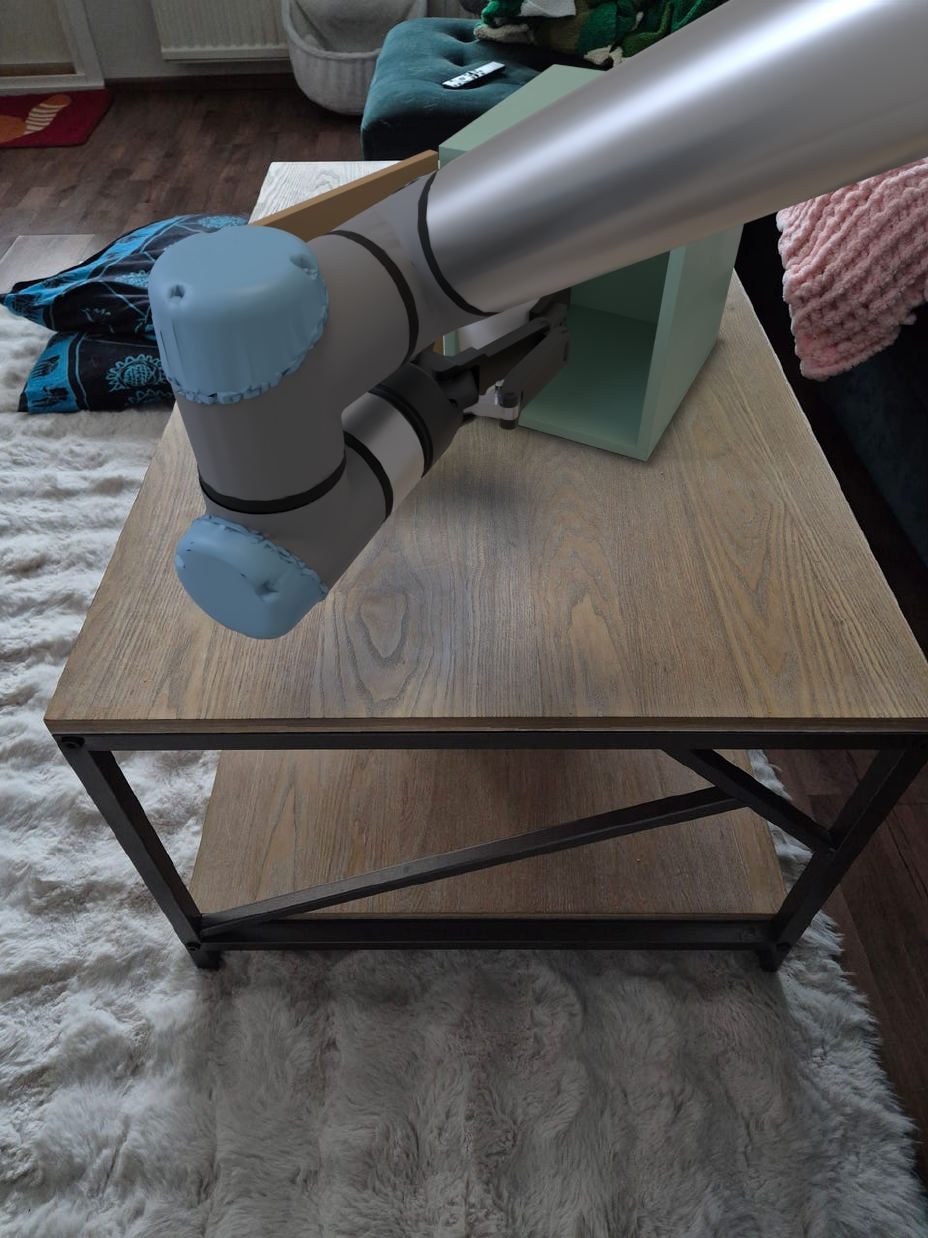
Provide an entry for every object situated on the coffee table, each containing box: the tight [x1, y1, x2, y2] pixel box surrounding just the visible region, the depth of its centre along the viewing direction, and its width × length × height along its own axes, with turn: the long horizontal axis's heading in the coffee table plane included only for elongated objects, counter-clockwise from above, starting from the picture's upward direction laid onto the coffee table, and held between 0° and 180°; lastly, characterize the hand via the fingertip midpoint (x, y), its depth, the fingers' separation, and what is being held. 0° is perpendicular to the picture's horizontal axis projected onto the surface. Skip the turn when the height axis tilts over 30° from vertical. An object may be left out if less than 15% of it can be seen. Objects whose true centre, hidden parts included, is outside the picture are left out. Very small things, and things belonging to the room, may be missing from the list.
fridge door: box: [246, 149, 445, 356], centre depth 73 cm, size 6×21×24 cm, turn 138°
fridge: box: [438, 64, 745, 462], centre depth 82 cm, size 24×21×24 cm
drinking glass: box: [457, 298, 541, 395], centre depth 64 cm, size 7×7×15 cm
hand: (524, 281), depth 67 cm, fingers closed on drinking glass, 6 cm apart
